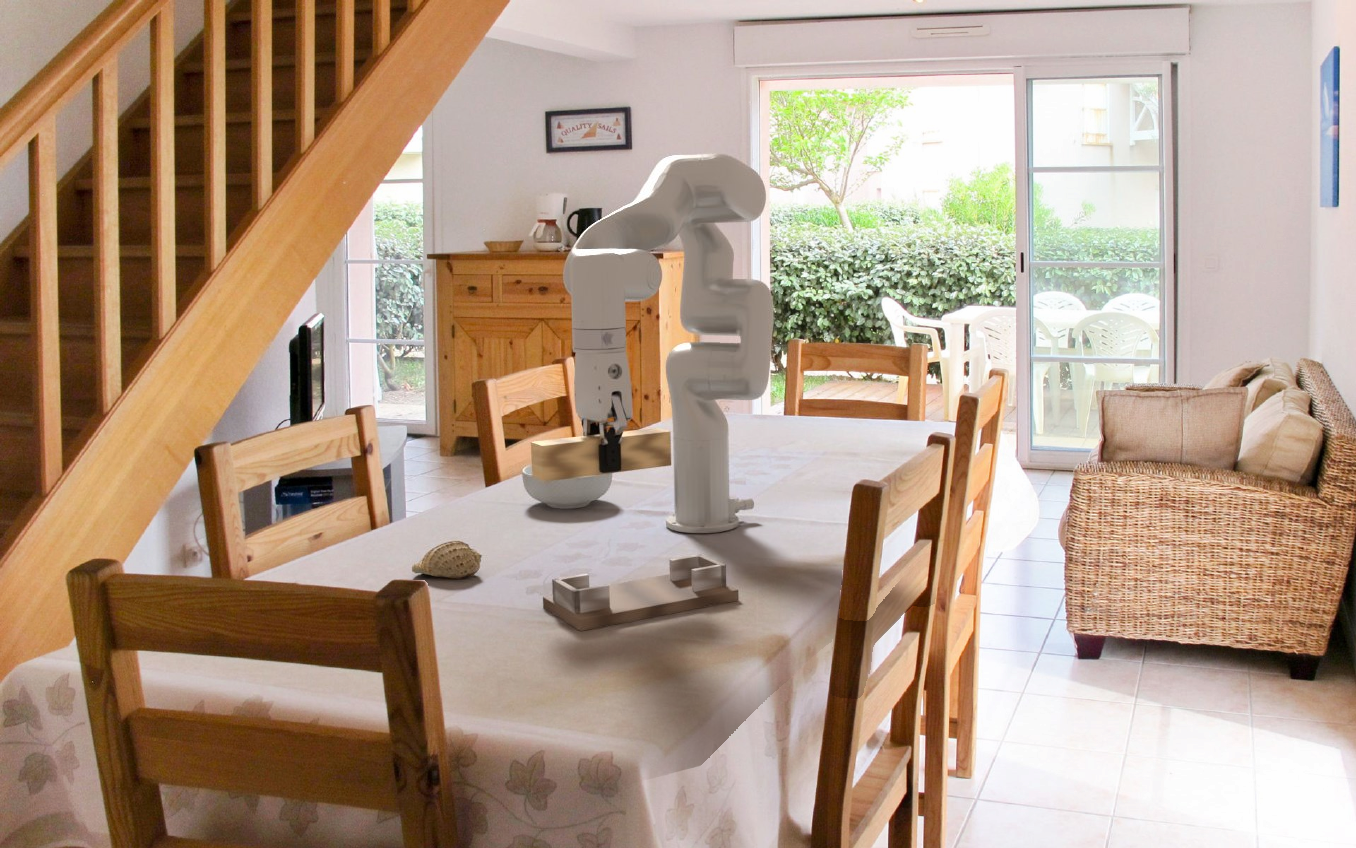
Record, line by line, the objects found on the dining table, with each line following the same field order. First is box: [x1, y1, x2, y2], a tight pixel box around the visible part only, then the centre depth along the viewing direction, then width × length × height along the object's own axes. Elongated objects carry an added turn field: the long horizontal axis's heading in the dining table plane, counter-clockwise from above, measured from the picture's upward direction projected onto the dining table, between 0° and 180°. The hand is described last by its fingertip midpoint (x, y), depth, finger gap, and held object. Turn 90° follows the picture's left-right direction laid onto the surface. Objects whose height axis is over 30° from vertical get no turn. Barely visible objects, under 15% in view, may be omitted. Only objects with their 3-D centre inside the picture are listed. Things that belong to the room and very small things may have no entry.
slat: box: [530, 427, 672, 482], centre depth 177 cm, size 20×4×5 cm, turn 119°
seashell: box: [411, 540, 483, 580], centre depth 187 cm, size 8×6×10 cm
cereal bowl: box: [521, 464, 613, 510], centre depth 234 cm, size 17×17×7 cm
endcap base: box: [542, 553, 739, 632], centre depth 171 cm, size 24×12×4 cm, turn 119°
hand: (603, 467), depth 177 cm, fingers closed on slat, 4 cm apart
